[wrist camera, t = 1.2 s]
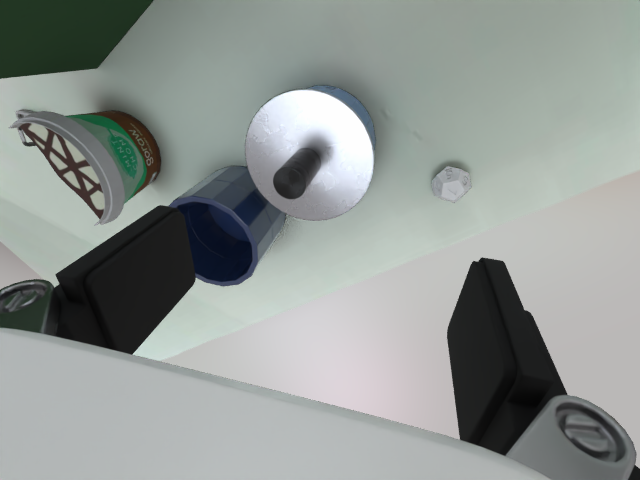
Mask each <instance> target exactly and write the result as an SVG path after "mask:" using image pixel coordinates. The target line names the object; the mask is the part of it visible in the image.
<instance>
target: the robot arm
mask: <svg viewBox="0 0 640 480" xmlns="http://www.w3.org/2000/svg"><path fill="white" fill-rule="evenodd" d="M55 275H56V277H57V279H58V281H59V283H60V284H59V285H58V286H56V287H55V288H54V286H53V285H52V284H51V283H50V282H49V281H46V280H39V279H34V280H26V281H22V282H18V283H15V284H12V285H10V286H7V287H4V288H3V289H1V290H0V480H640V469H639V468H638V467H637V466H636V465H635V462H636V451H635V448H634V444H633V442H632V440H631V439H630V437H629V436H628V434H627V432H626V431H625V429H624V428H623V427H622V426H621V425H620V424H619V423H618V422H617V421H616V420H615V419H614V418H613V417H612V416H610V415H609V414H608V413H607V412H605V411H604V410H603V409H601V408H600V407H598V406H596V405H595V404H593V403H591V402H589V401H587V400H584V399H582V398H579V397H575V396H569V395H567V393H566V390H565V388H564V386H563V383H562V381H561V379H560V377H559V375H558V372H557V370H556V368H555V365H554V363H553V361H552V359H551V356H550V354H549V352H548V350H547V347H546V345H545V343H544V341H543V338H542V336H541V334H540V331H539V329H538V327H537V325H536V323H535V320H534V318H533V316H532V315H531V313H530V312H528V311H525V310H524V308H523V305H522V303H521V301H520V298H519V296H518V294H517V291H516V289H515V287H514V284H513V282H512V280H511V277H510V275H509V272H508V270H507V268H506V265H505V263H504V262H503V261H500V260H494V259H488V258H481V259H480V260H479V262H475V261H473V262H472V264H471V266H470V269H469V271H468V274H467V277H466V280H465V282H464V285H463V288H462V290H461V293H460V296H459V299H458V301H457V304H456V307H455V310H454V312H453V315H452V318H451V321H450V323H449V326H448V332H447V339H448V347H449V355H450V363H451V370H452V379H453V387H454V395H455V403H456V411H457V418H458V427H459V435H460V440H458V439H455V438H452V437H449V436H446V435H442V434H439V433H435V432H432V431H428V430H424V429H421V428H417V427H413V426H410V425H406V424H402V423H399V422H395V421H391V420H388V419H384V418H381V417H377V416H373V415H369V414H365V413H361V412H357V411H354V410H350V409H346V408H342V407H338V406H334V405H330V404H326V403H322V402H319V401H315V400H311V399H307V398H303V397H299V396H295V395H291V394H287V393H284V392H280V391H276V390H272V389H267V388H263V387H260V386H256V385H252V384H247V383H244V382H240V381H236V380H231V379H228V378H224V377H220V376H216V375H212V374H208V373H204V372H200V371H196V370H192V369H188V368H184V367H180V366H176V365H172V364H168V363H163V362H160V361H156V360H152V359H148V358H143V357H139V356H135V355H132V354H133V353H134V352H135V351H136V350H137V349H138V347H139V346H140V345H141V344H142V343H143V342H144V341H145V339H146V338H147V337H148V336H149V335H150V334H151V333H152V331H153V330H154V329H155V328H156V327H157V326H158V325H159V323H160V322H161V321H162V320H163V319H164V318H165V317H166V316H167V314H168V313H169V312H170V311H171V310H172V309H173V308H174V306H175V305H176V304H177V303H178V302H179V301H180V300H181V298H182V297H183V296H184V295H185V294H186V293H187V292H188V290H189V289H190V288H191V287H192V286H193V284H194V282H195V278H196V275H195V270H194V264H193V259H192V254H191V249H190V243H189V238H188V233H187V228H186V222H185V217H184V215H183V214H182V213H181V212H180V210H179V209H178V208H174V207H168V206H161V205H160V206H157V207H156V208H154V209H153V210H151V211H150V212H148V213H147V214H145V215H144V216H142V217H141V218H139V219H138V220H136V221H135V222H133V223H132V224H130V225H129V226H127V227H126V228H124V229H123V230H121V231H120V232H118V233H117V234H115V235H114V236H112V237H111V238H109V239H108V240H106V241H105V242H103V243H102V244H100V245H99V246H97V247H96V248H94V249H93V250H91V251H90V252H88V253H87V254H85V255H84V256H82V257H81V258H79V259H78V260H76V261H75V262H73V263H72V264H70V265H69V266H67V267H66V268H64V269H63V270H61V271H60V272H58V273H57V274H55Z"/></svg>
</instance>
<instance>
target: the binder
mask: <svg viewBox="0 0 640 480" xmlns="http://www.w3.org/2000/svg"><path fill="white" fill-rule="evenodd" d="M152 1H153V0H0V79H1V78H11V77H20V76H29V75H39V74H48V73H58V72H67V71H77V70H86V69H96V68H98V66H99V65H100V64H101V63H102V62H103V60H104V59H105V58H106V57H107V56H108V54H109V53H110V52H111V51H112V50H113V48H114V47H115V46H116V45H117V44H118V42H119V41H120V40H121V39H122V38H123V36H124V35H125V34H126V33H127V32H128V30H129V29H130V28H131V27H132V26H133V24H134V23H135V22H136V21H137V20H138V18H139V17H140V16H141V15H142V14H143V12H144V11H145V10H146V9H147V8H148V6H149V5H150V4H151V3H152Z"/></svg>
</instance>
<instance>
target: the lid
mask: <svg viewBox="0 0 640 480" xmlns="http://www.w3.org/2000/svg"><path fill="white" fill-rule="evenodd" d="M245 156H246V162H247V167H248V170H249V173H250V176H251V178H252V180H253V182H254V184H255V185H256V187H257V188H258V190H259V191H260V193H261V194H262V195H263V196H264V197H265V198H266V199H267V200H268V201H269V202H270V203H271V204H272V205H273V206H275V207H276V208H277V209H279V210H281V211H282V212H284V213H286V214H288V215H290V216H293V217H296V218H300V219H304V220H312V221H320V220H327V219H331V218H335V217H337V216H340V215H342V214H344V213H346V212H347V211H349V210H350V209H352V208H353V207H354V206H355V205H356V204H357V203H358V202H359V201H360V200H361V199H362V197H363V196H364V195H365V193H366V191H367V189H368V187H369V185H370V182H371V179H372V175H373V171H374V162H375V160H374V149H373V143H372V140H371V137H370V134H369V132H368V130H367V128H366V126H365V124H364V123H363V121H362V119H361V118H360V117H359V115H358V114H357V113H356V112H355V111H354V110H353V109H352V108H351V107H350V106H349V105H348V104H347V103H345V102H344V101H342V100H341V99H339V98H337V97H335V96H333V95H331V94H329V93H326V92H323V91H319V90H314V89H296V90H291V91H287V92H284V93H282V94H279V95H277V96H275V97H274V98H272V99H270V100H269V101H267V102H266V103H265V104H264V105H263V106H262V107H261V108H260V109H259V110H258V112H257V113H256V114H255V116H254V118H253V119H252V121H251V123H250V126H249V128H248V132H247V135H246V142H245Z"/></svg>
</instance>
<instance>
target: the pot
mask: <svg viewBox="0 0 640 480" xmlns="http://www.w3.org/2000/svg"><path fill="white" fill-rule="evenodd" d="M168 207H174V208H178V209H179V210H180V212H181V213H182V214H183V215H184V217H185V222H186V228H187V233H188V238H189V243H190V249H191V254H192V259H193V264H194V270H195V275H196V278H198V279H200V280H202V281H204V282H206V283H210V284H215V285H219V286H230V285H238V284H240V283H242V282H243V281H245V280H246V279H248V278H249V277H251V276H252V275H253V273H254V272H255V270H256V269H257V267H258V266H259V264H260V263H261V261H262V260H263V258H264V257H265V255H266V254H267V252H268V251H269V249H270V248H271V246H272V245H273V243H274V242H275V240H276V238H277V237H278V235H279V233H280V231H281V230H282V228H283V226H284V222H285V216H286V213H284V212H282V211H281V210H279V209H277V208H276V207H275V206H273V205H272V204H271V203H270V202H269V201H268V200H267V199H266V198H265V197H264V196H263V195H262V194H261V193H260V191H259V190H258V188H257V187H256V185H255V184H254V182H253V180H252V178H251V176H250V173H249V170H248V167H243V166H229V167H225V168H222V169H220V170H217V171H216V172H214V173H213V174H211V175H210V176H208V177H207V178H205V179H204V180H203V181H201V182H200V183H198V184H197V185H195V186H194V187H193V188H191V189H190V190H188V191H187V192H185V193H184V194H183V195H181V196H180V197H178V198H177V199H175V200H174V201H173V202H172V203H171V204H170V205H169V206H168Z"/></svg>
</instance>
